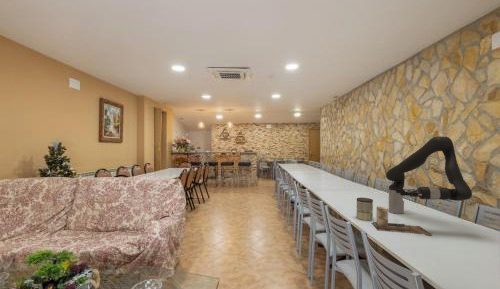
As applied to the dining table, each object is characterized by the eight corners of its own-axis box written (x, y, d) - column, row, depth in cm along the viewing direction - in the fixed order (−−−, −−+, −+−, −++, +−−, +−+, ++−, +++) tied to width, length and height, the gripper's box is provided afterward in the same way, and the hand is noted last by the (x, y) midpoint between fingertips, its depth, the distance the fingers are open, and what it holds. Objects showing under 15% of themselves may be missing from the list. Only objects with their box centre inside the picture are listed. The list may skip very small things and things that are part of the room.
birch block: (385, 226, 154) (385, 206, 154) (387, 228, 149) (388, 209, 149) (376, 225, 155) (376, 206, 155) (378, 228, 150) (379, 208, 150)
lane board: (419, 227, 154) (419, 223, 154) (432, 235, 140) (432, 232, 140) (370, 223, 160) (370, 220, 160) (377, 231, 146) (377, 228, 146)
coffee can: (354, 217, 175) (354, 197, 174) (369, 217, 174) (369, 197, 173) (359, 221, 164) (359, 200, 164) (375, 222, 163) (375, 201, 163)
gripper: (423, 185, 153) (394, 184, 158) (433, 188, 140) (401, 187, 144) (424, 197, 153) (394, 196, 158) (434, 201, 139) (402, 200, 144)
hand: (398, 192), depth 151 cm, fingers open, 8 cm apart
